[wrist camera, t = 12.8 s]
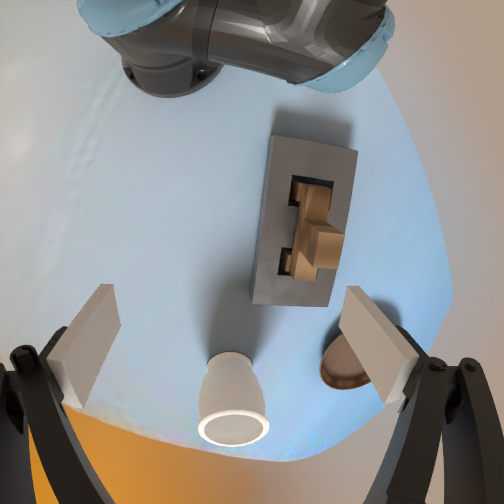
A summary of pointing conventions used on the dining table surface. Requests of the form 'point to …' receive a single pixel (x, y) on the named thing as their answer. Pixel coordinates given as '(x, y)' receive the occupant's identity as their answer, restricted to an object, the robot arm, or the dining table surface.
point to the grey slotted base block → (285, 217)
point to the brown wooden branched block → (312, 234)
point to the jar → (231, 402)
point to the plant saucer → (342, 366)
